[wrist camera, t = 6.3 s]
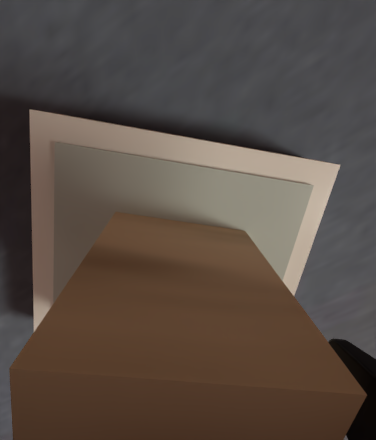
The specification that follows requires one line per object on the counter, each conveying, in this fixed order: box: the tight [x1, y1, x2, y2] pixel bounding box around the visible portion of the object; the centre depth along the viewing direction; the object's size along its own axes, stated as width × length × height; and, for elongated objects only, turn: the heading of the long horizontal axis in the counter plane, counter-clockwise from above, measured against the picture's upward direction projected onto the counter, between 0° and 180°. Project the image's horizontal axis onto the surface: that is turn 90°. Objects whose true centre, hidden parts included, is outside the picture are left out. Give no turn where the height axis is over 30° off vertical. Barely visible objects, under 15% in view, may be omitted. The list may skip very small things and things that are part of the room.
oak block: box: [9, 212, 367, 440], centre depth 7 cm, size 4×4×6 cm
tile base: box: [29, 109, 340, 331], centre depth 11 cm, size 10×10×3 cm
